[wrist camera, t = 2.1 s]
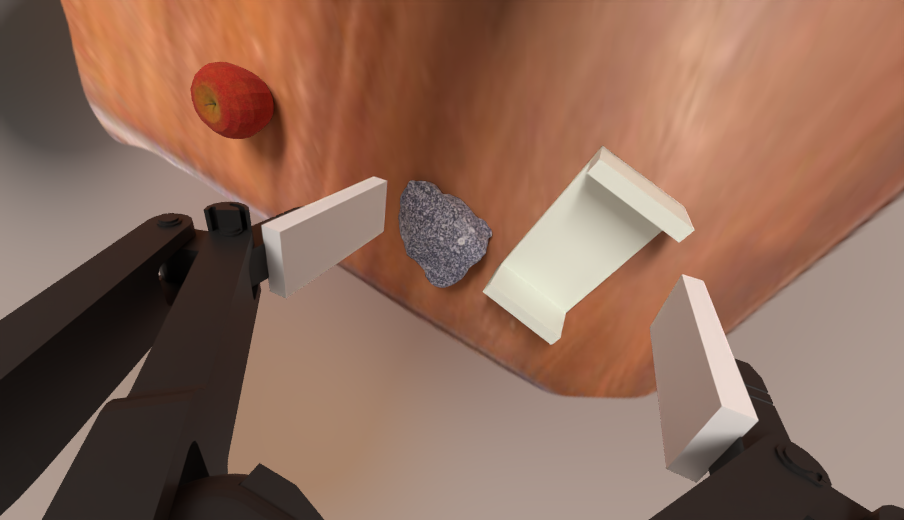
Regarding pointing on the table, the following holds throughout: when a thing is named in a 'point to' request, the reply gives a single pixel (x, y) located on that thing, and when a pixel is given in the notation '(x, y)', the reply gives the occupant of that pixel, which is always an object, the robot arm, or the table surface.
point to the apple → (231, 100)
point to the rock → (440, 233)
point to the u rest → (583, 242)
